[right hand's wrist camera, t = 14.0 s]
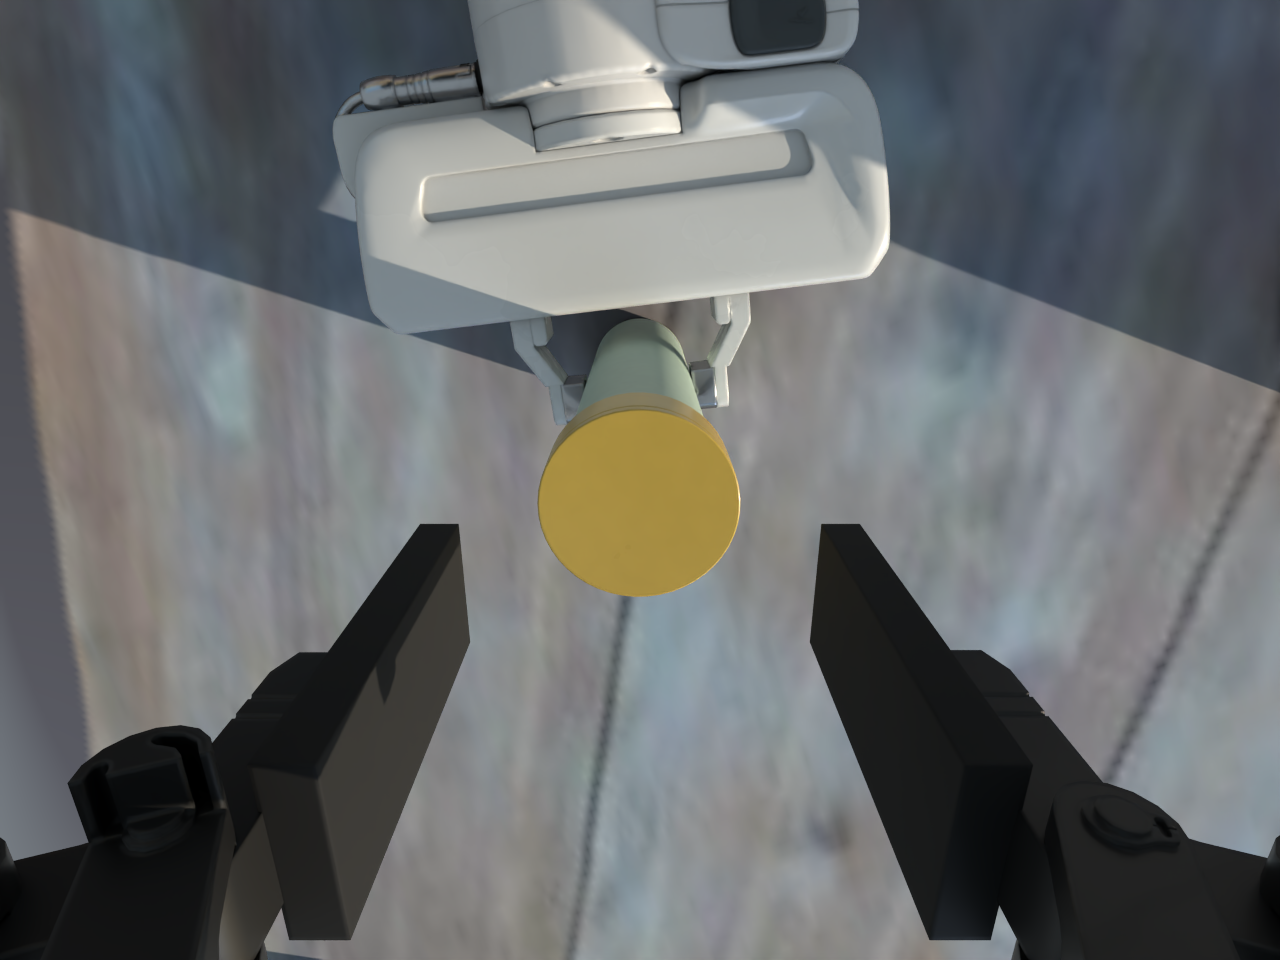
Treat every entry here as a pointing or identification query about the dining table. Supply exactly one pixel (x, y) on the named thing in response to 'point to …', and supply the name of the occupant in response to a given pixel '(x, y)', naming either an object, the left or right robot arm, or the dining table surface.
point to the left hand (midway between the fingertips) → (643, 413)
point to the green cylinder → (639, 365)
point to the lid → (639, 495)
